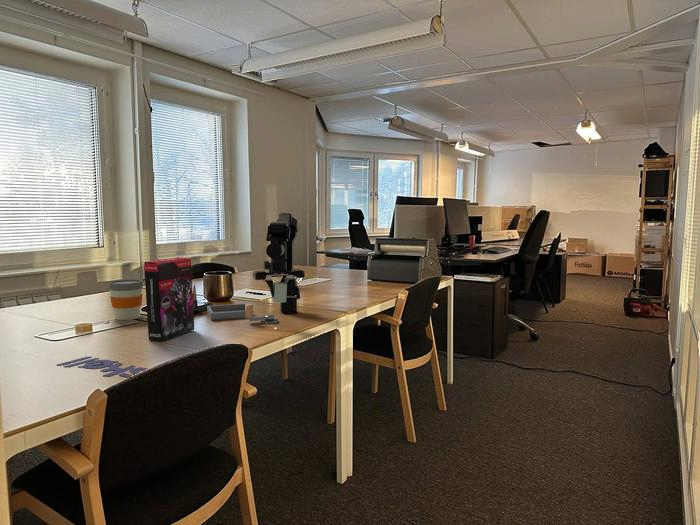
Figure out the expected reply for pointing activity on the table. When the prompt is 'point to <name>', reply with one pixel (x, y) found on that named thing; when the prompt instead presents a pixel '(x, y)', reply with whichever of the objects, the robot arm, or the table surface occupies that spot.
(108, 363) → the signage
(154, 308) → the graphics card box
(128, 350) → the table surface
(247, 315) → the crank
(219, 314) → the tray
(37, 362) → the table surface
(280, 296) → the block
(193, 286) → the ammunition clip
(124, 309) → the reusable coffee cup
